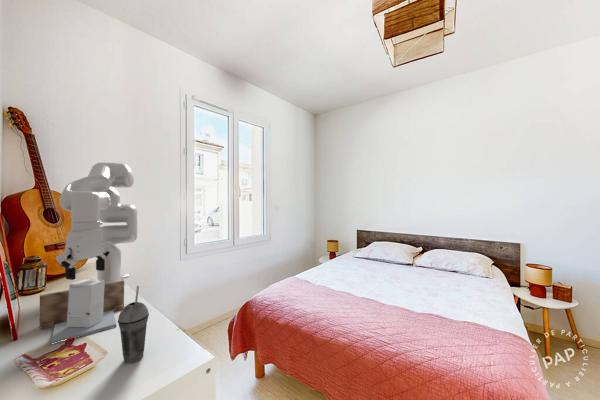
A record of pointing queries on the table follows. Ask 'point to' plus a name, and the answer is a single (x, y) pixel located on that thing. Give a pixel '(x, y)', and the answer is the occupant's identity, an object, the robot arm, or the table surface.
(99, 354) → the table surface
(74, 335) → the mat
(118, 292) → the walnut screen
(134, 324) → the beverage cup
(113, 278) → the robot arm
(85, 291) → the skincare box
